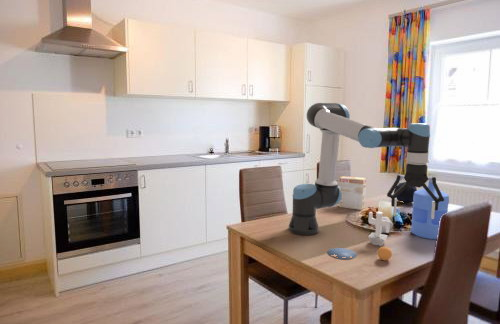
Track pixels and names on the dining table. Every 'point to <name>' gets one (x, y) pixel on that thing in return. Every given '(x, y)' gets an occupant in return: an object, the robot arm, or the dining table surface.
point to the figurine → (378, 228)
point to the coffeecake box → (352, 192)
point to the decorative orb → (405, 193)
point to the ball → (384, 253)
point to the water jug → (427, 213)
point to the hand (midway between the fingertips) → (413, 216)
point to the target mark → (342, 253)
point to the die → (384, 226)
